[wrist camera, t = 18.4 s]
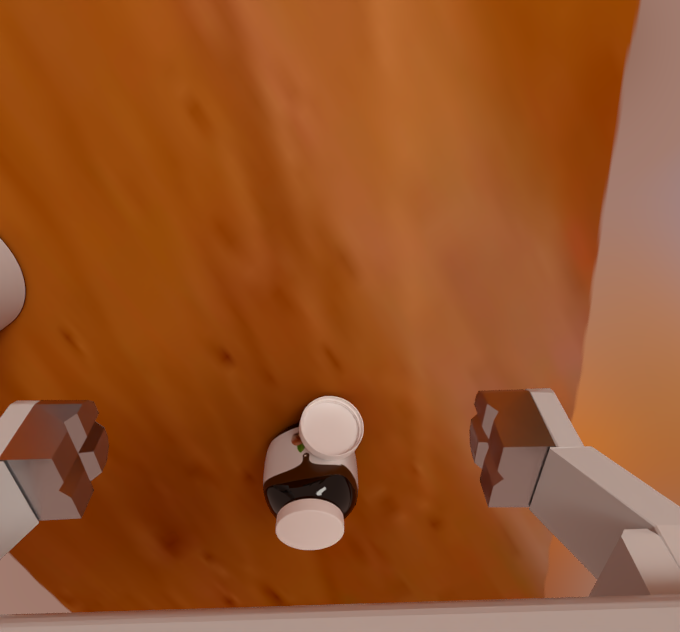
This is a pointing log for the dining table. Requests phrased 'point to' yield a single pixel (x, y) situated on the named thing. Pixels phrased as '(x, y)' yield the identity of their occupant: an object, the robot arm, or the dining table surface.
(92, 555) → the dining table surface
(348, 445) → the spread jar
